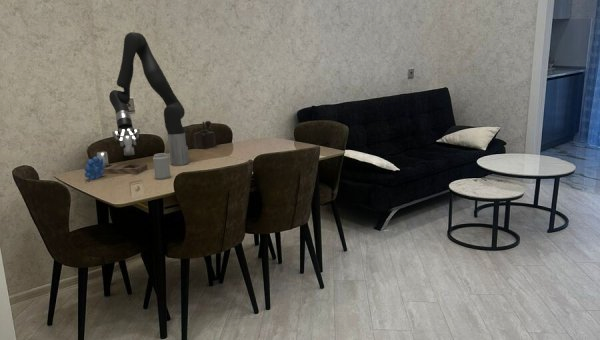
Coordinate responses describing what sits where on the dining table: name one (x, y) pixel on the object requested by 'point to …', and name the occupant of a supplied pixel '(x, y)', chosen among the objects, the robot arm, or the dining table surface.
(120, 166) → the brown wooden tray
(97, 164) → the grapes
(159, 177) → the can
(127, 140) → the billet
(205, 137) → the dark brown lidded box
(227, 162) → the dining table surface
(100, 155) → the billet
